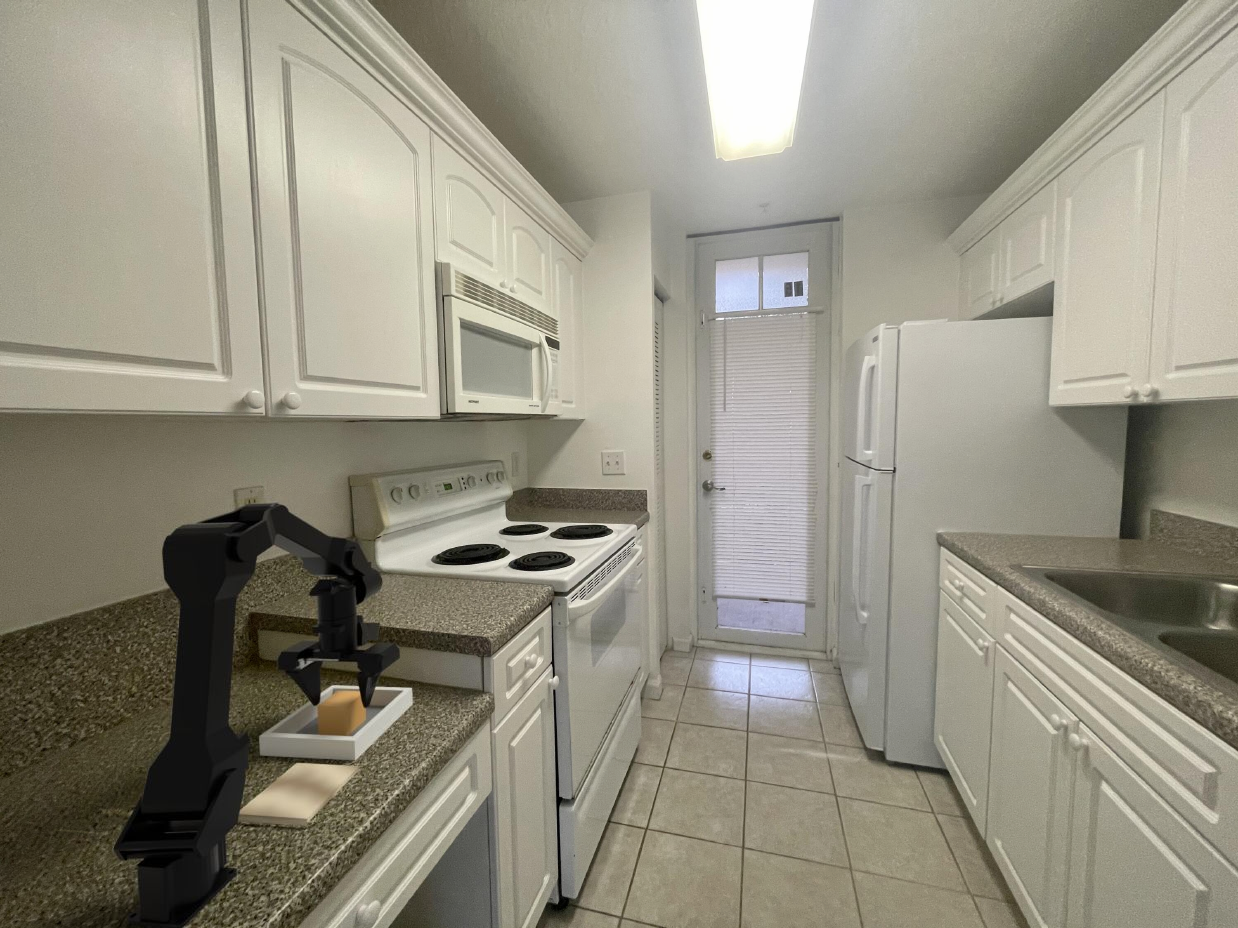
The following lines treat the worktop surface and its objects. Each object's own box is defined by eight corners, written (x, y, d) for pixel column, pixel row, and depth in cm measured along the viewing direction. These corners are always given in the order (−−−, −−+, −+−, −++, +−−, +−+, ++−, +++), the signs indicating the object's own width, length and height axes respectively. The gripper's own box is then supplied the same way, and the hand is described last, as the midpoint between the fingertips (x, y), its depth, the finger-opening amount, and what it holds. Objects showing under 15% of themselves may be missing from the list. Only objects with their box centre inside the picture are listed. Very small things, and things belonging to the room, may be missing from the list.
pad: (307, 826, 60) (307, 818, 60) (236, 821, 62) (235, 813, 61) (359, 772, 70) (358, 766, 70) (297, 769, 71) (296, 762, 71)
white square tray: (355, 763, 73) (354, 740, 72) (260, 757, 74) (259, 736, 74) (412, 706, 88) (411, 687, 88) (333, 703, 90) (332, 685, 90)
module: (346, 736, 79) (345, 706, 78) (318, 735, 79) (317, 705, 79) (366, 719, 84) (364, 691, 83) (339, 718, 84) (338, 690, 84)
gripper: (415, 600, 88) (418, 683, 88) (321, 599, 90) (325, 680, 90) (377, 622, 77) (381, 717, 77) (272, 620, 79) (276, 713, 79)
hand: (341, 705), depth 81 cm, fingers open, 9 cm apart
